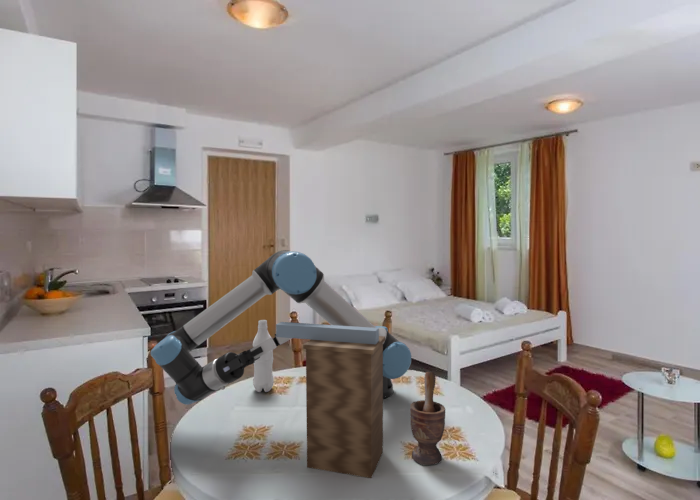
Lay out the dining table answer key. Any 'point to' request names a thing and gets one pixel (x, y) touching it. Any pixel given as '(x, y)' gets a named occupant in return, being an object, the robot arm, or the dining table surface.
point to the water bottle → (263, 361)
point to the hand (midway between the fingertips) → (286, 335)
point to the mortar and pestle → (427, 425)
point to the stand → (344, 406)
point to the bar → (328, 332)
